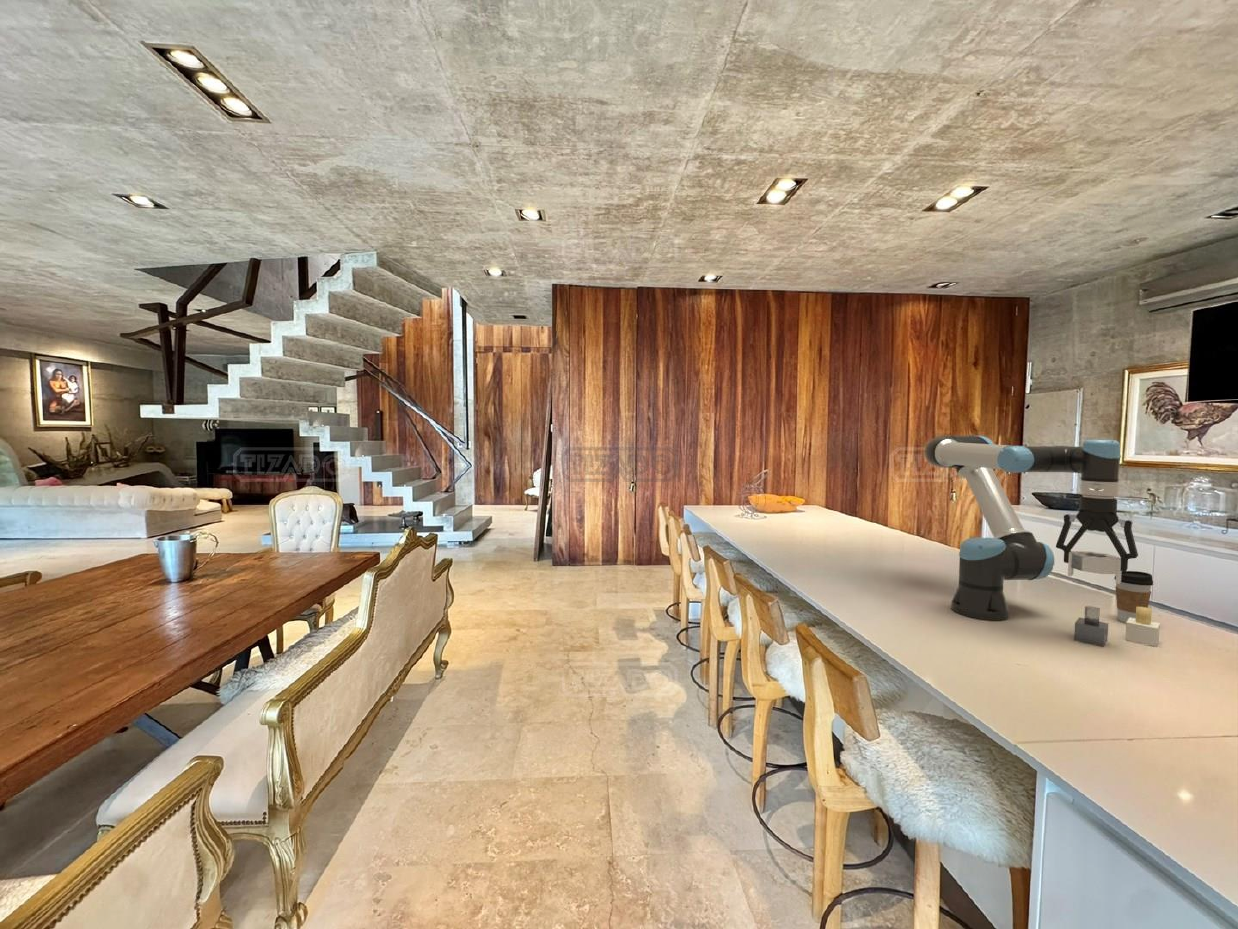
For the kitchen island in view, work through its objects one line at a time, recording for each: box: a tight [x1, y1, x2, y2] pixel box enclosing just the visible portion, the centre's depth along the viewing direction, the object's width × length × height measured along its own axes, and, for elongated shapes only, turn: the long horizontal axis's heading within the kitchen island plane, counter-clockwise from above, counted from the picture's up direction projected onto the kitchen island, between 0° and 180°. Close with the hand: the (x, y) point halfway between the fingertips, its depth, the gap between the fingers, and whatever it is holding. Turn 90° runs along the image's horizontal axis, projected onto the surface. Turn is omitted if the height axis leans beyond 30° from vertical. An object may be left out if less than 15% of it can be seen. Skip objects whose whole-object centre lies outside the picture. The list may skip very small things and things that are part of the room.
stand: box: [1073, 605, 1109, 648], centre depth 143 cm, size 6×6×9 cm
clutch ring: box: [1071, 550, 1120, 575], centre depth 142 cm, size 9×9×4 cm
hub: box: [1124, 607, 1161, 648], centre depth 143 cm, size 6×6×9 cm
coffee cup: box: [1114, 570, 1154, 624], centre depth 158 cm, size 8×8×15 cm
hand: (1093, 578), depth 142 cm, fingers closed on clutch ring, 9 cm apart
